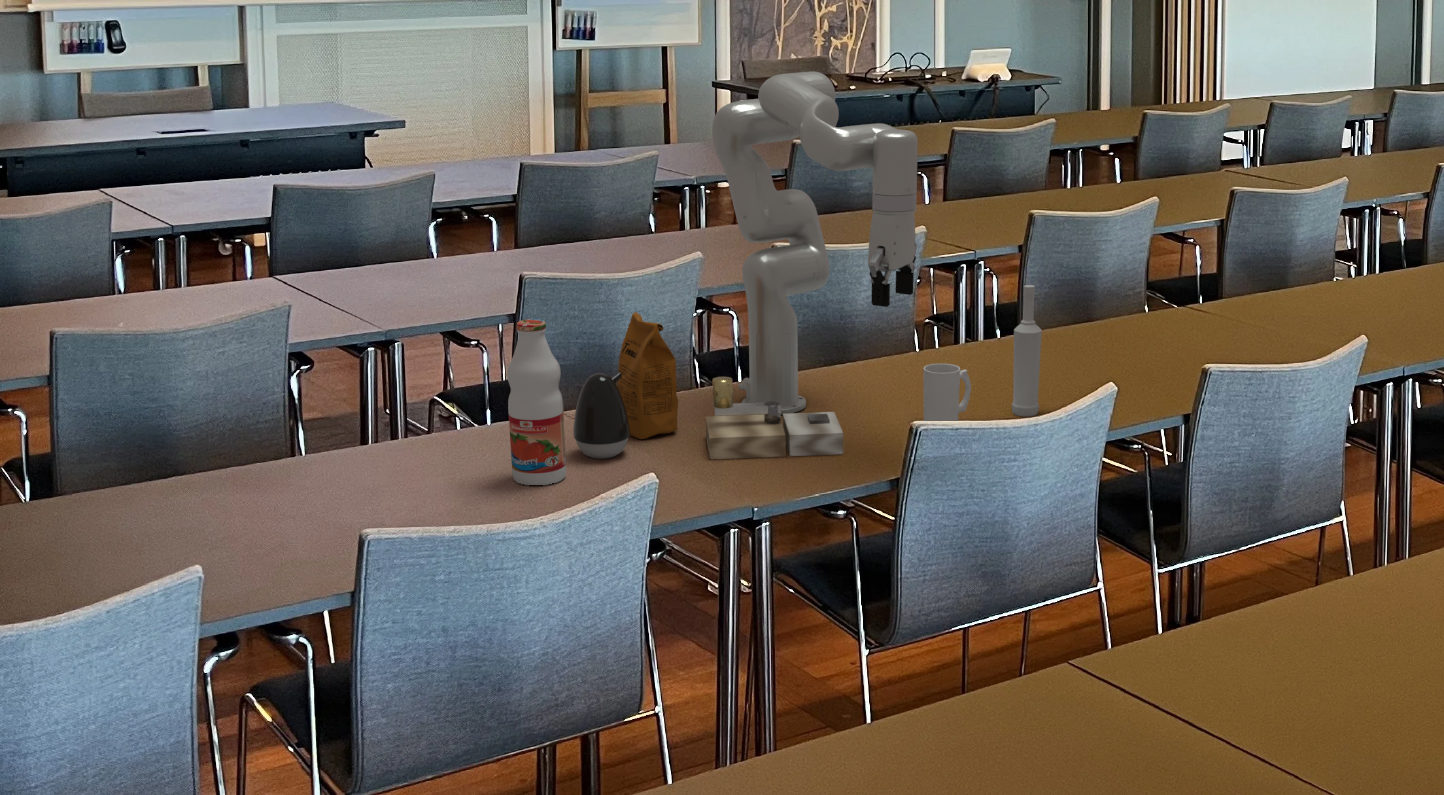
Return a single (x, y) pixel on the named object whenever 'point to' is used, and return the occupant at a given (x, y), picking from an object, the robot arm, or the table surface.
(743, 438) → the stone-look twin blocks
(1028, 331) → the bottle
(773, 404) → the bar
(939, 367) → the mug
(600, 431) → the pump dispenser
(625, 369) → the coffee package
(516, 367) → the fruit juice
